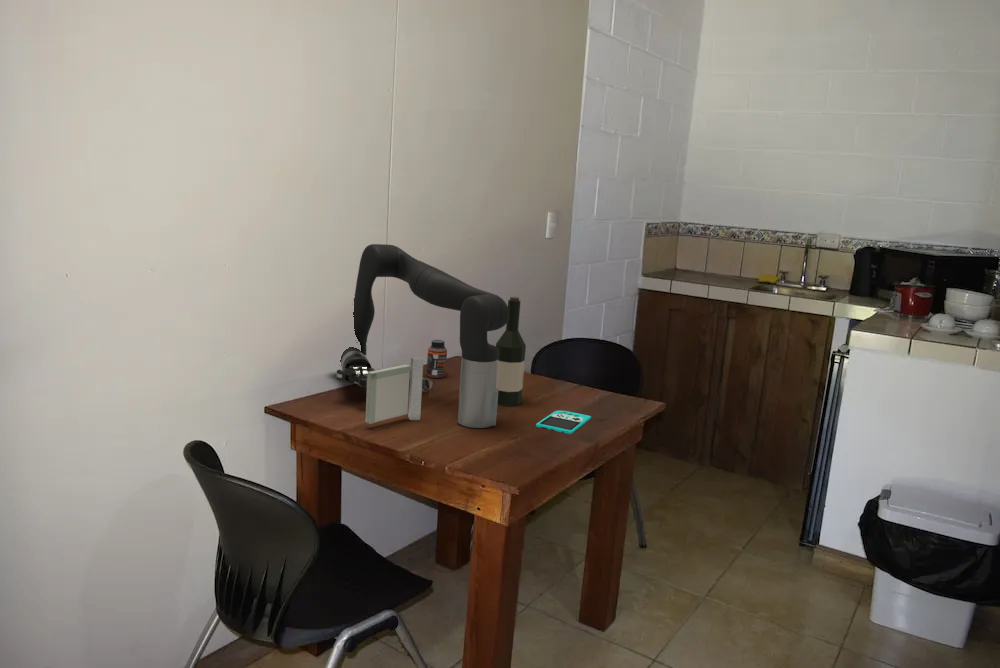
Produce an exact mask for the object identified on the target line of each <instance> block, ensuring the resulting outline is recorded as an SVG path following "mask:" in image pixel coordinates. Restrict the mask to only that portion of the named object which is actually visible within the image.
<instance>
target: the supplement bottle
mask: <svg viewBox="0 0 1000 668" xmlns="http://www.w3.org/2000/svg"><path fill="white" fill-rule="evenodd" d="M447 356H448V349H447V348H446V346H445V340H442V339H432V340H431V344H430V346H429V347H428V349H427V357H426V359H427V361H426V376H427V377H429V378H430V379H431V378H432V379H443V378H445V377H446V373H447V358H448V357H447Z"/></svg>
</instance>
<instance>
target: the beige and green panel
mask: <svg viewBox="0 0 1000 668" xmlns="http://www.w3.org/2000/svg"><path fill="white" fill-rule="evenodd" d="M374 370H375V369H374ZM410 371H411V365H409V364H402V365H401V364H400V365H398V366H397V365H396V366H392V367H387V368H381V370H380V369H377V370H375V371H370V372H367V387H366V395H365V396H366V397H365V399H366V402H365V419H364V420H365V423H366V424H369V425H372V424H374V423H377V422H382V421H385V420H390V419H393V418H397V417H402V416H404V415H408V411H409V391H410Z"/></svg>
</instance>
